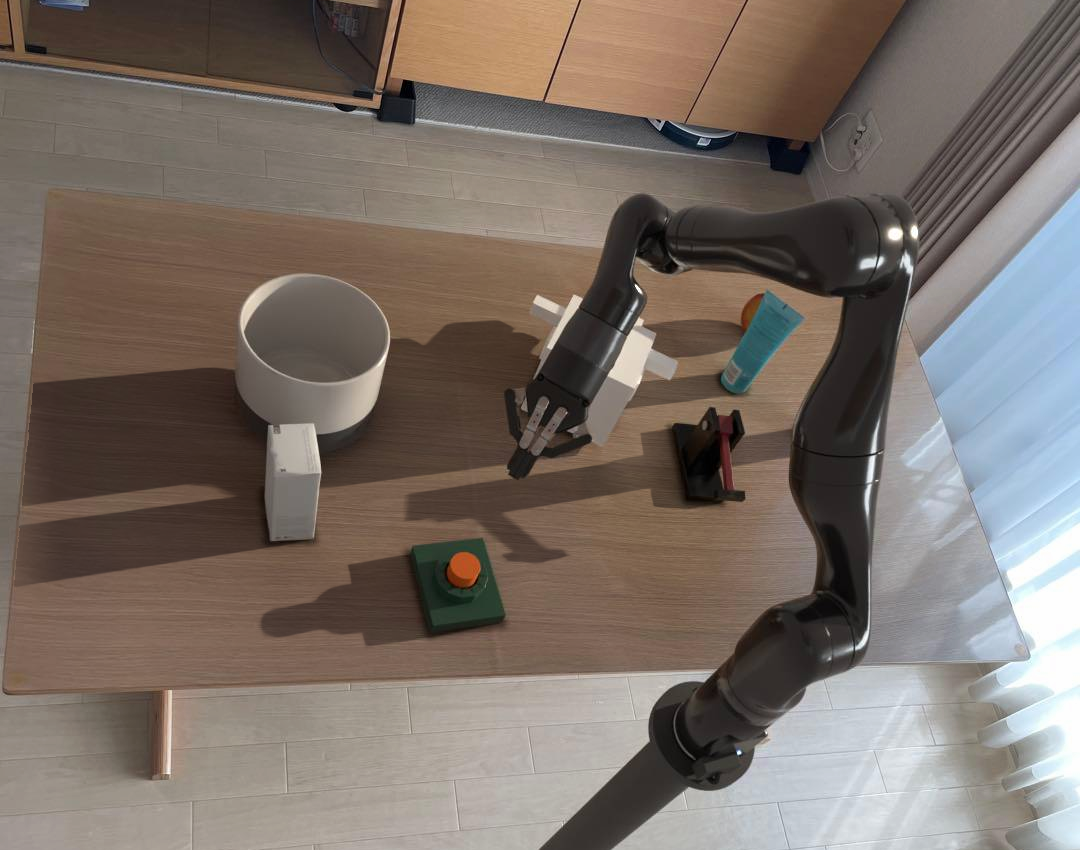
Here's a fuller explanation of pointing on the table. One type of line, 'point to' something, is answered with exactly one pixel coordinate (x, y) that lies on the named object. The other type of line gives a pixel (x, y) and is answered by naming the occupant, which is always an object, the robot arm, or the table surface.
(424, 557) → the button box
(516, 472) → the robot arm
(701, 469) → the black bracket
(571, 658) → the table surface
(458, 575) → the button
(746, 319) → the fruit
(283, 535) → the cosmetic box
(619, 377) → the white voxel figure
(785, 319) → the tube
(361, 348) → the planter
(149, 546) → the table surface
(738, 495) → the red and black bar
